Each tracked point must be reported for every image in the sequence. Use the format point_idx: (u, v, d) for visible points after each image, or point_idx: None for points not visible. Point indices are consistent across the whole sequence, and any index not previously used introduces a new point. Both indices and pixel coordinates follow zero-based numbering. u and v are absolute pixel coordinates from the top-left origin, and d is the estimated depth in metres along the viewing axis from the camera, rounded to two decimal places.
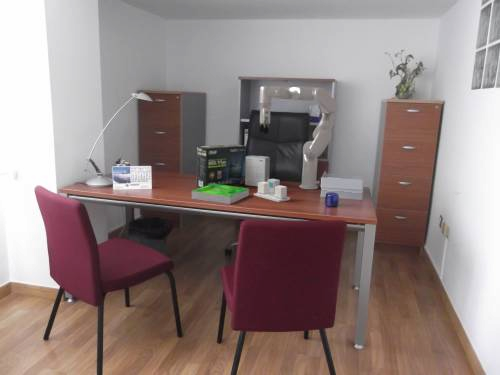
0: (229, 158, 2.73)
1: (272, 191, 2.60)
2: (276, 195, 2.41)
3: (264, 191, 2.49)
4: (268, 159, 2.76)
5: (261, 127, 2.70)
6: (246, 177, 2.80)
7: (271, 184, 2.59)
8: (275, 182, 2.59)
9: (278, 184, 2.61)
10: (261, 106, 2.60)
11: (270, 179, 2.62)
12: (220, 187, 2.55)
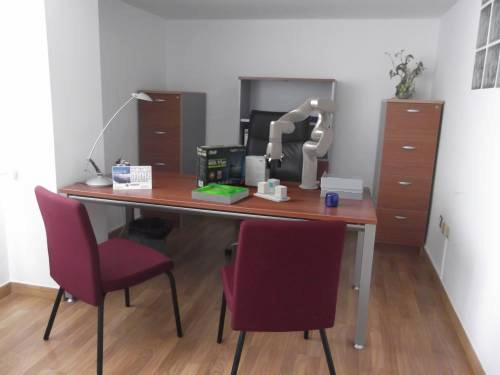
0: (229, 158, 2.73)
1: (272, 191, 2.60)
2: (276, 195, 2.41)
3: (264, 191, 2.49)
4: None
5: None
6: (246, 177, 2.80)
7: (271, 184, 2.59)
8: (275, 182, 2.59)
9: (278, 184, 2.61)
10: None
11: (270, 179, 2.62)
12: (220, 187, 2.55)
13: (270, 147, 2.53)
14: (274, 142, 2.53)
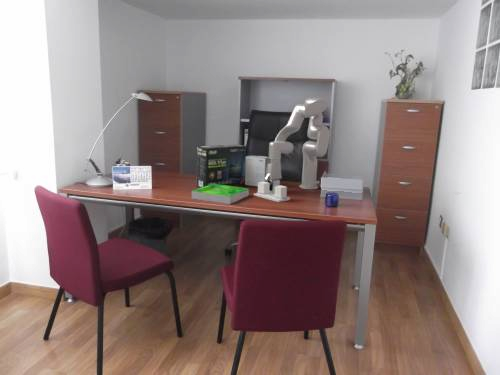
0: (229, 158, 2.73)
1: (272, 191, 2.60)
2: (276, 195, 2.41)
3: (264, 191, 2.49)
4: (268, 159, 2.76)
5: None
6: (246, 177, 2.80)
7: None
8: (275, 182, 2.59)
9: (278, 184, 2.61)
10: None
11: None
12: (220, 187, 2.55)
13: (269, 168, 2.56)
14: (273, 163, 2.56)
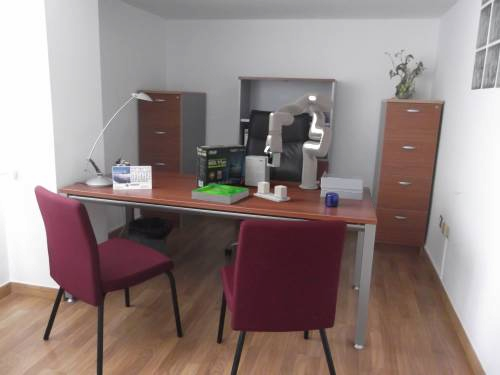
0: (229, 158, 2.73)
1: (272, 164, 2.47)
2: (276, 195, 2.41)
3: (264, 191, 2.49)
4: None
5: None
6: (246, 177, 2.80)
7: None
8: (275, 155, 2.46)
9: (278, 157, 2.48)
10: (280, 134, 2.46)
11: None
12: (220, 187, 2.55)
13: (269, 140, 2.43)
14: (273, 134, 2.43)
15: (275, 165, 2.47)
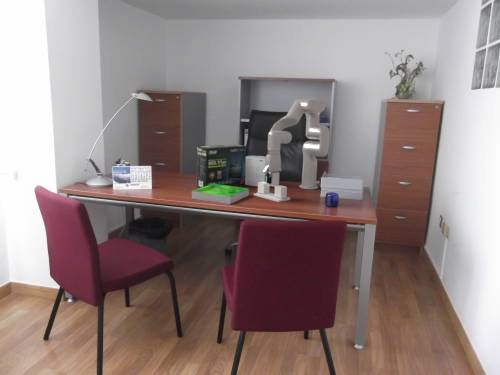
0: (229, 158, 2.73)
1: (271, 184, 2.43)
2: (276, 195, 2.41)
3: (264, 191, 2.49)
4: None
5: None
6: (246, 177, 2.80)
7: None
8: (274, 174, 2.42)
9: (278, 177, 2.44)
10: (279, 153, 2.42)
11: None
12: (220, 187, 2.55)
13: (268, 159, 2.39)
14: (272, 154, 2.39)
15: (274, 185, 2.43)
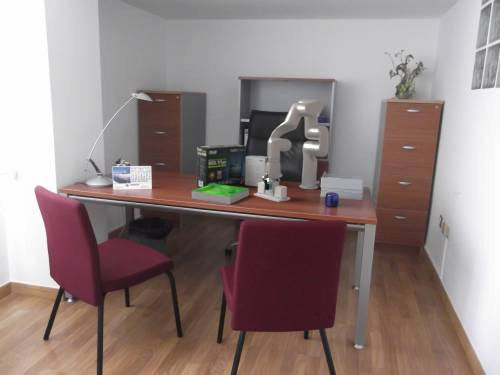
0: (229, 158, 2.73)
1: (271, 193, 2.45)
2: (276, 195, 2.41)
3: (264, 191, 2.49)
4: None
5: None
6: (246, 177, 2.80)
7: (270, 186, 2.44)
8: (274, 184, 2.43)
9: None
10: (279, 161, 2.43)
11: None
12: (220, 187, 2.55)
13: (268, 167, 2.40)
14: (272, 162, 2.40)
15: None
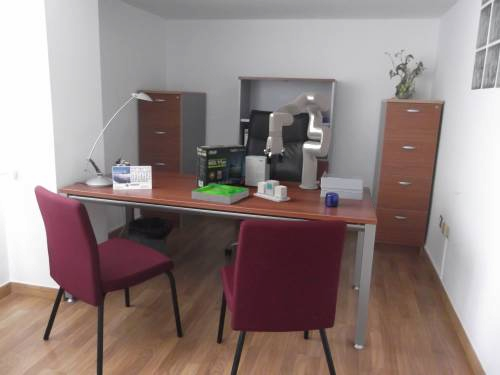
0: (229, 158, 2.73)
1: (271, 193, 2.45)
2: (276, 195, 2.41)
3: (264, 191, 2.49)
4: None
5: None
6: (246, 177, 2.80)
7: (270, 186, 2.44)
8: (274, 184, 2.43)
9: None
10: (281, 135, 2.41)
11: (269, 180, 2.47)
12: (220, 187, 2.55)
13: (270, 141, 2.39)
14: (274, 136, 2.38)
15: None
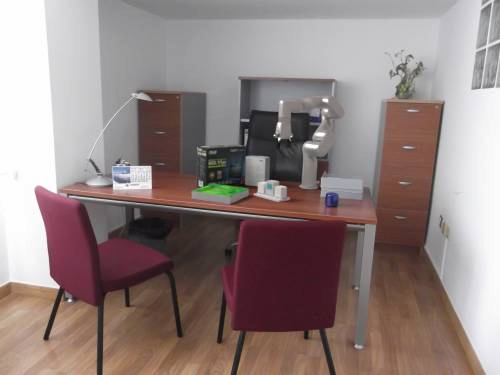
0: (229, 158, 2.73)
1: (271, 193, 2.45)
2: (276, 195, 2.41)
3: (264, 191, 2.49)
4: (268, 159, 2.76)
5: None
6: (246, 177, 2.80)
7: (270, 186, 2.44)
8: (274, 184, 2.43)
9: None
10: None
11: (269, 180, 2.47)
12: (220, 187, 2.55)
13: (279, 126, 2.51)
14: (283, 121, 2.51)
15: None
